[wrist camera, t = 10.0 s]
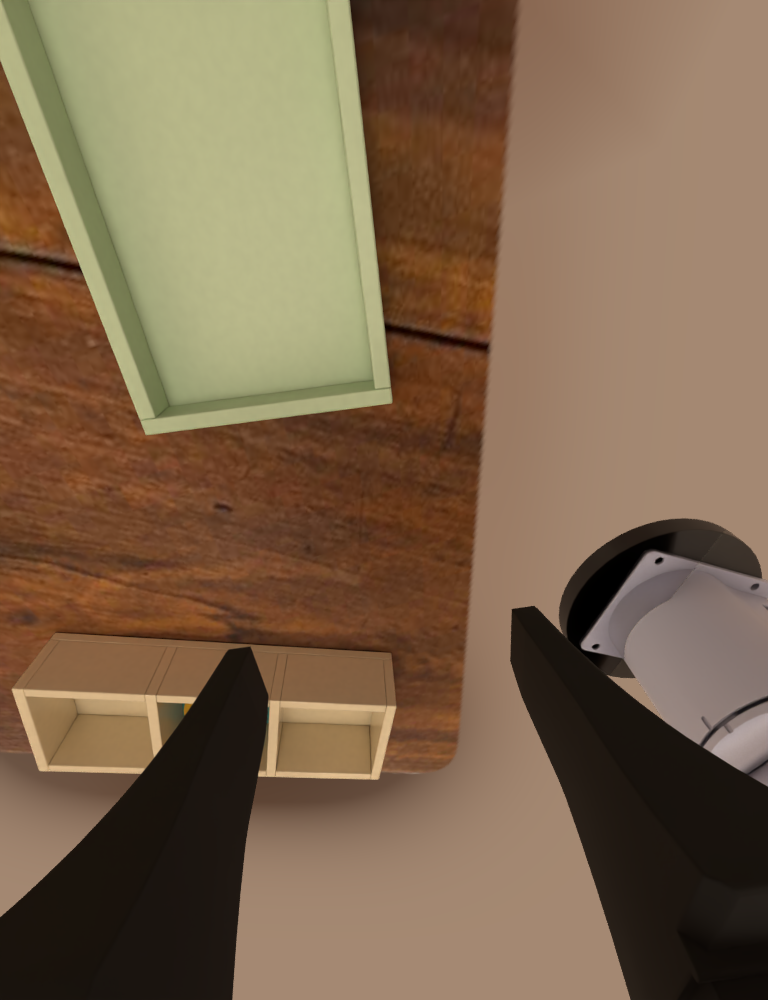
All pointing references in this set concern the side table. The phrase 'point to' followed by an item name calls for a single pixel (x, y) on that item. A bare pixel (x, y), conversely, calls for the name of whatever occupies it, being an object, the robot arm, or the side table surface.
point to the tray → (211, 197)
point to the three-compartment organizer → (178, 681)
